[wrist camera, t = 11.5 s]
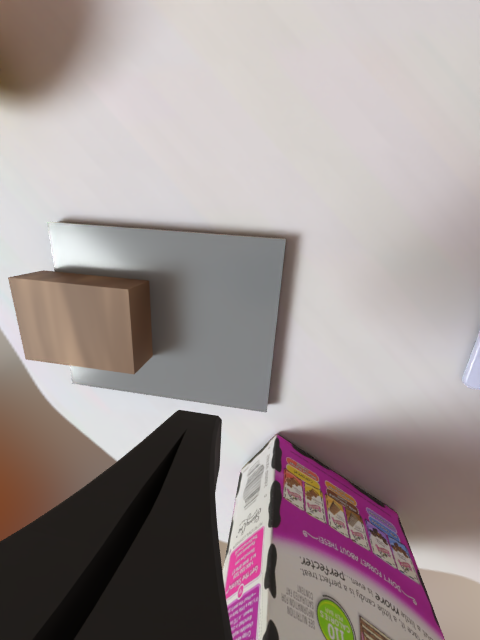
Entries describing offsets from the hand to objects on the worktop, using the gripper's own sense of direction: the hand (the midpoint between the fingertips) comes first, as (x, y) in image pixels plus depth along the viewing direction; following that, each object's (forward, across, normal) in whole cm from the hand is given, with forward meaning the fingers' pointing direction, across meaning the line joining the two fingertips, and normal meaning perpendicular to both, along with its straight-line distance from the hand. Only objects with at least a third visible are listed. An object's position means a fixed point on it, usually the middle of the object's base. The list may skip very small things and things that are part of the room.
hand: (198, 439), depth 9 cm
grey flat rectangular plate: (+10, +5, 0) cm, 11 cm away
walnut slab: (+8, +6, 0) cm, 10 cm away
